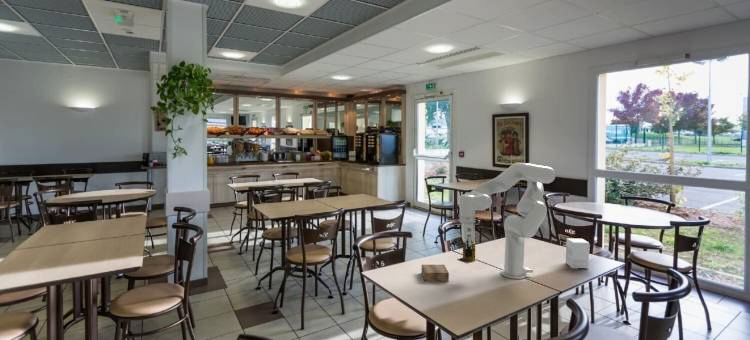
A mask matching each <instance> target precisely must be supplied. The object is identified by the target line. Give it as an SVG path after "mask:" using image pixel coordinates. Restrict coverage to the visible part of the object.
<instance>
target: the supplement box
mask: <svg viewBox="0 0 750 340" xmlns="http://www.w3.org/2000/svg"><path fill="white" fill-rule="evenodd" d="M565 243H566V245H565V264H566V263H567V264H568V265H569V266H568V265H567V264H566V265H567V266H568V267H569V268H571V269H578V268H588V269H589V260H590V259H589V258H590V257H589V255H590V242H589V241H587V240H585V239H584V238H566V242H565Z"/></svg>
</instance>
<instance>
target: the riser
mask: <svg viewBox="0 0 750 340" xmlns="http://www.w3.org/2000/svg"><path fill="white" fill-rule="evenodd" d="M421 275H422V279H423V280H424V282H425V283H448V282H449V281H450V280H449V279H450V278H449V277H450V273H449V271H448V268H447V266H446V265H445V264H421Z"/></svg>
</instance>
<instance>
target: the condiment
mask: <svg viewBox="0 0 750 340" xmlns="http://www.w3.org/2000/svg"><path fill="white" fill-rule="evenodd" d="M467 243H468V241H467ZM471 243H472V241H471ZM467 245H468V244H467ZM465 249H466V243H465V242H464V241H463V240H462V257H460V258H457V259H456V261H458V262H461V263H464V264H470V263H474V262H477V261H479V259H476V242H474V243H472V257H466V256H465Z"/></svg>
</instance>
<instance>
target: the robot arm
mask: <svg viewBox="0 0 750 340" xmlns="http://www.w3.org/2000/svg"><path fill="white" fill-rule="evenodd" d="M555 179H556V172H555V169H554V168H552V167H550V166H546V165H545V166H544V165H538V164H532V163H527V162H526V163H525V162H515V163H512V164H511V165H510V166H509V167H508V168H506V169H505V170H503V171H502V172H501V173H500V174H498V175H497V176H496V177H494V178H492V179H490V180H486V181H485V182H482V183H480V184H479V185H478V186H476V187H475V188H473V189H472V190H471V191H470V192H469V193H468V194H467V193H465V194H461V195H460V196H459V223H460V224H461V238H462V242H463V241H464V242H465V243H466V249H465V256H466V257H472V243H474V242H475V241H476V240H475V225H474V224H475V223H476V210H477V209H478V210H487V209H489V208H490V207H491V206H492V204H493V200H492V199H493V198H492V197H491V196H490V195H493V194H498V193H503V192H507V191H508V190H510V189H511V188H512V187H513V186H515V185H516V184H517V183H519V182H520V181H526V183H527V187H526V189H525V191H524V193H523V195H522V196H521V199H520V200H519V202H518V203H517V205H516V211H517V213H518V214H519V215H514V214H513V215H512V214H511V215H508V216H507V217H506V218H505V220H504V222H503V226H504V227H503V228H504V235H505V236H504V237H505V242H504V243H505V244H504V261H503V262H504V265H503V266H504V267H503V269H501V271H500V274H501V275H502V276H503V277H505V278H508V279H512V280H513V279H514V280H523V279H526V277H527V274H528V273H530V274H532V273H534V270H533V268H529V267H525V266H524V264H525V262H524V261H525V239H531V238H532V237H534V236H535V235H536V233H537V232H538V231H539V228H540V227H541V225H542V223H543V222H544V220H545V218H546V216H547V212H548V210H547V209H548V208H547V205H546V203H544V202H543V201H542V198H543V196H544V192H545V191H544V190H545V189H544V184H551V183H553V182H554V180H555ZM520 215H521V216H520ZM467 241H468V243H467ZM471 241H472V243H471ZM475 243H476V242H475ZM467 244H468V245H467Z"/></svg>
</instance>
